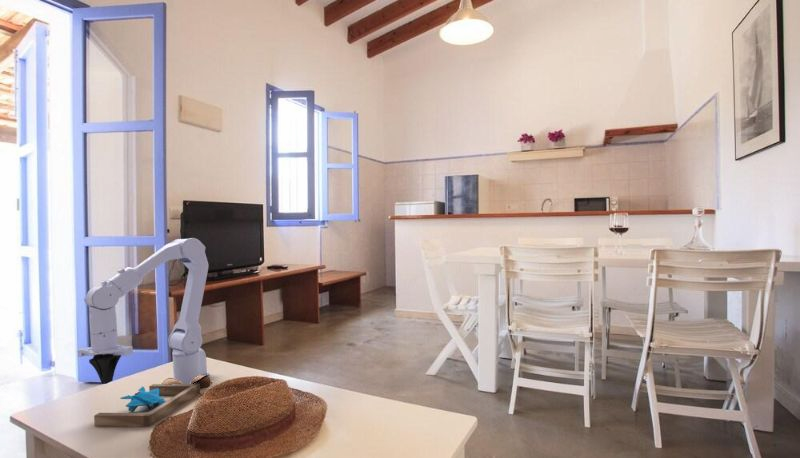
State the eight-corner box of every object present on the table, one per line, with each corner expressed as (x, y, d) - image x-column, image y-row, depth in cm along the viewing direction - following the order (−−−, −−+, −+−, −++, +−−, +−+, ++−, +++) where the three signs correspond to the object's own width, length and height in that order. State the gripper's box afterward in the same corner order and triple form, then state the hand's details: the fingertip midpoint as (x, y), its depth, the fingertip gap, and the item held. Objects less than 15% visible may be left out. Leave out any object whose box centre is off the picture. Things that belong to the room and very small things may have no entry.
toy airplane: (118, 420, 97) (117, 403, 97) (125, 404, 106) (124, 389, 106) (172, 408, 102) (171, 392, 102) (174, 394, 111) (174, 380, 111)
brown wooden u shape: (153, 392, 113) (153, 384, 113) (200, 392, 111) (199, 383, 111) (94, 426, 94) (94, 415, 94) (149, 426, 93) (148, 415, 93)
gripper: (65, 336, 101) (68, 388, 101) (115, 335, 100) (119, 388, 100) (90, 329, 108) (93, 378, 108) (137, 327, 107) (140, 377, 107)
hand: (107, 382), depth 105 cm, fingers closed
